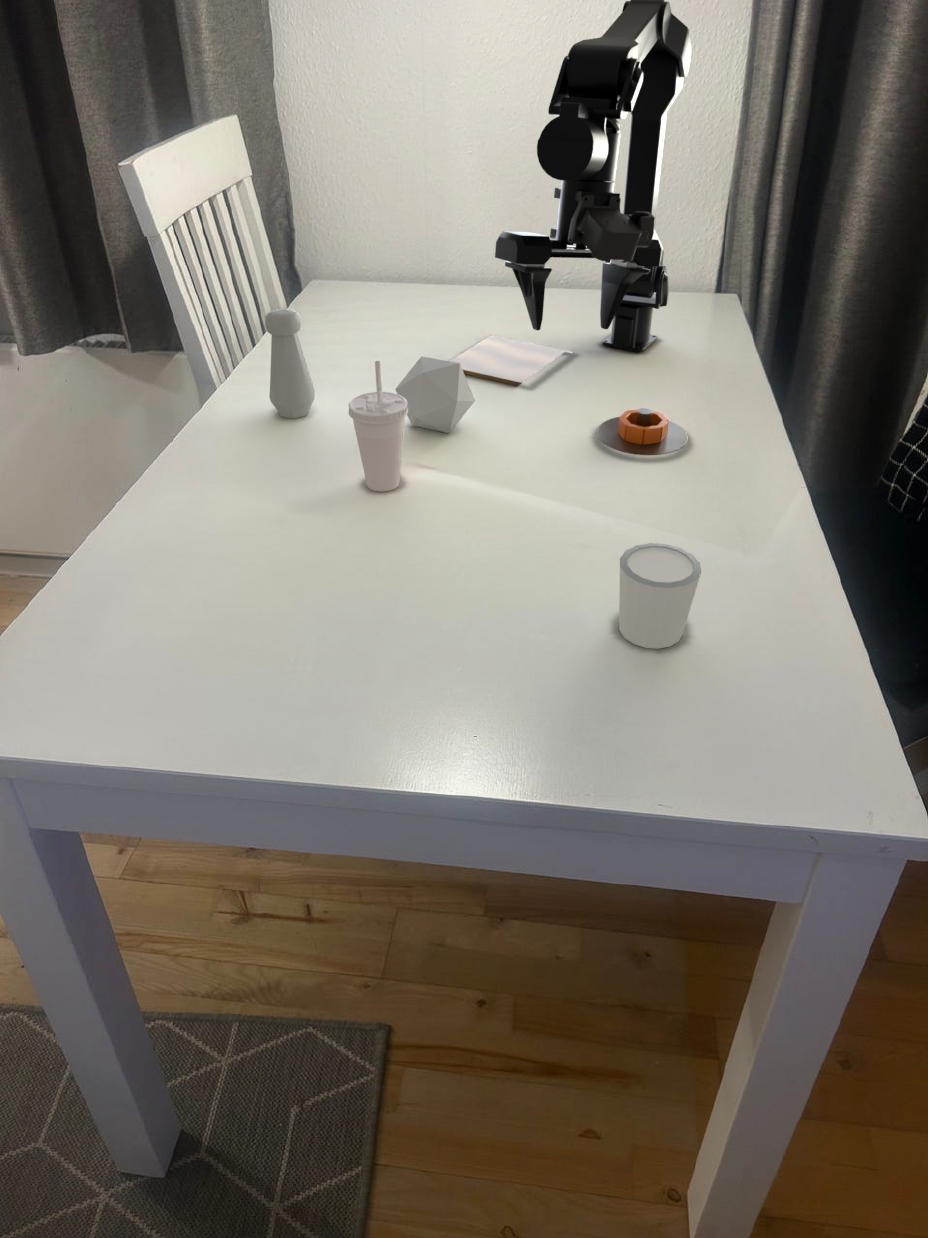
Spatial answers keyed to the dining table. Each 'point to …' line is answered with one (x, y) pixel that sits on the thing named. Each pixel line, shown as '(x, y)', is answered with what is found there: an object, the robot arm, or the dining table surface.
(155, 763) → the dining table surface
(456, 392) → the die
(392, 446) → the smoothie
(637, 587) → the shot glass
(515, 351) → the trivet
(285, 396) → the salt shaker
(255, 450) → the dining table surface
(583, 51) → the robot arm
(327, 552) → the dining table surface
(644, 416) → the ring post
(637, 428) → the ring
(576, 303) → the dining table surface
